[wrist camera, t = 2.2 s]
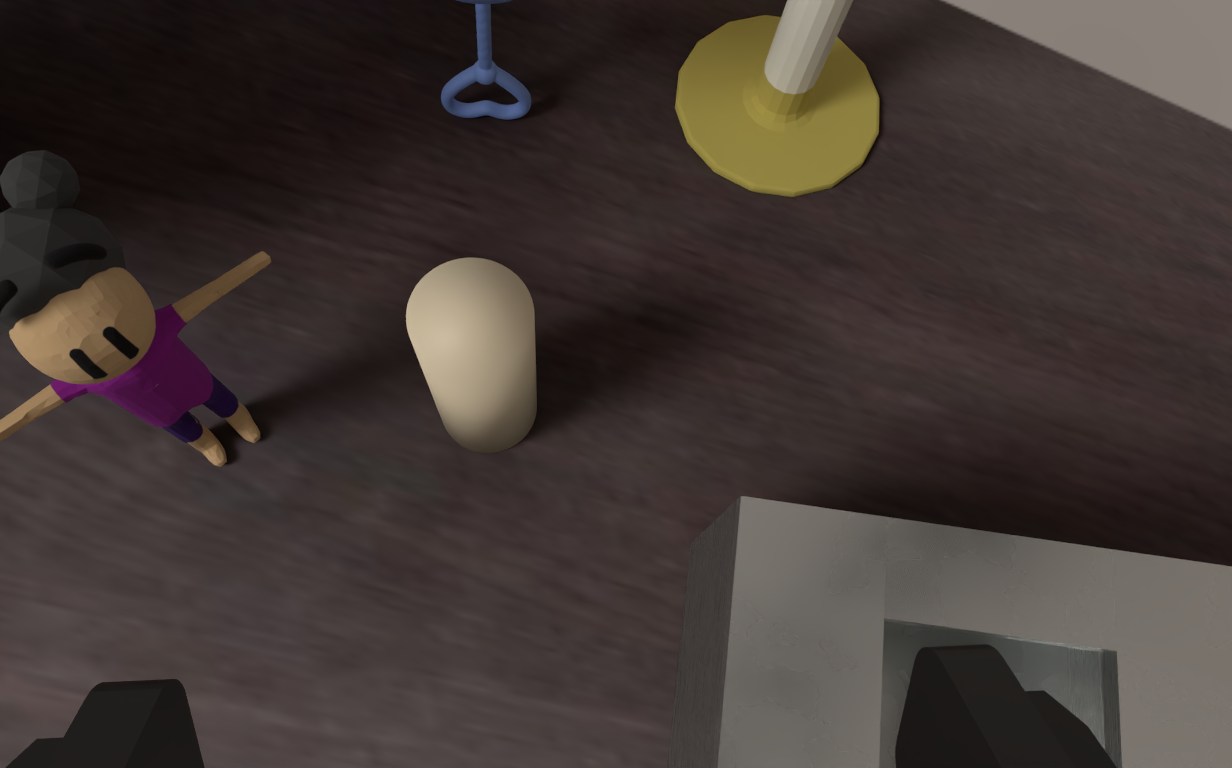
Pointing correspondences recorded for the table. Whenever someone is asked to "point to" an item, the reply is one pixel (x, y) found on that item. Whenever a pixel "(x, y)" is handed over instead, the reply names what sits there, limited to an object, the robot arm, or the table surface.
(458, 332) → the capsule
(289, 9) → the table surface
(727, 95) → the candle
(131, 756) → the robot arm
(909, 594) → the white hollow block
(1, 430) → the toy
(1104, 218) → the table surface
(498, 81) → the baby rattle
